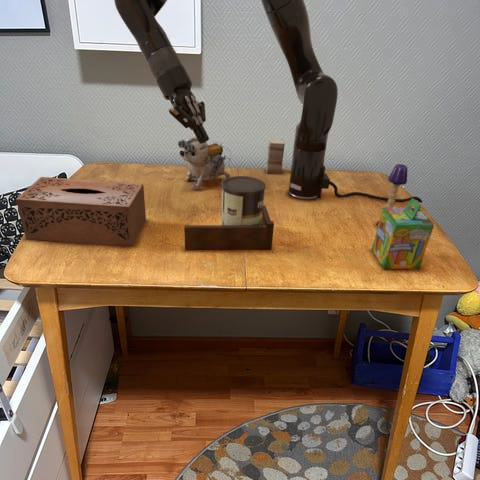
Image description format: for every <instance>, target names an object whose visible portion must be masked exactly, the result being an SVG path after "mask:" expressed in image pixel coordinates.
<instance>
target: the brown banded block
mask: <svg viewBox="0 0 480 480" xmlns="http://www.w3.org/2000/svg"><path fill="white" fill-rule="evenodd" d="M285 143H286V142H285V140H284V139H279V138H269V139H268V145H267V154H266V156H267V158H266V163H265V164H266V166H265V172H266V174H276V175H281V174H282V170H283V169H282V168H283V162H284V161H283V159H284V155H285V154H284V153H285V145H286V144H285Z"/></svg>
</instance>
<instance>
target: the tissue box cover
mask: <svg viewBox="0 0 480 480" xmlns="http://www.w3.org/2000/svg"><path fill="white" fill-rule="evenodd" d="M144 189H145V188H144V183H141V182H140V183H139V182H138V183H137V182H124V181H111V180H110V181H109V180H95V179H94V180H93V179H79V178H78V179H77V178H64V177H63V178H62V177H50V176H40V177H39V178H38V179H37V180H36V181H35V182H33V183H32V184H31V185H29V187H28V188H27V189H26V190H24V191H23V192H22V193H21V194H20V195H19V196H18V197H17V198H15V201H16V205H17V206H16V207H17V209H18V214H19V217H20V221H21V225H22V229H23V233H24V237H25V240H32V241H44V242H46V241H47V242H60V243H75V244H90V245H103V246H104V245H105V246H118V247H119V246H120V247H134V246H135V244H136V242H137V240H138V238H139V236H140V234H141V232H142V230H143V228H144V226H145V224H146V222H147V214H146V201H145V199H146V198H145V190H144Z"/></svg>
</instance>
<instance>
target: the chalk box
mask: <svg viewBox="0 0 480 480" xmlns="http://www.w3.org/2000/svg"><path fill="white" fill-rule="evenodd" d="M412 206H413V207H412ZM379 220H380V221H379ZM379 220H378V221H379V224H378V227H377V228H376V232H375V236H374V239H373V243H372V247H371V252H372V253H373V255H374V256H375V258H376V260H377V261H378V263H379V264H380V266H381V267H382V269H383V270H396V269H397V270H420V268H421V265H422V262H423V259H424V256H425V253H426V250H427V247H428V245H429V241H430V239H431V236H432V233H433V230H434V226H435V225H434V223H433V222H432V220H431V219H430V218H429V217H428V216H427V214H425V212H424V211H423V210H421V204H420V203H419V202H418V201H417V200H414V199H413V198H412V199H411V200H410V201H408V204H407V205H406V207H393V208H386V206H384V207H382V210H381V213H380V217H379Z"/></svg>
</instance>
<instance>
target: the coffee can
mask: <svg viewBox="0 0 480 480" xmlns="http://www.w3.org/2000/svg"><path fill="white" fill-rule="evenodd" d="M266 187H267V186H266V183H265V182H264V181H263V180H262V179H259V178H256V177H252V176H247V175H246V176H245V175H237V176H236V175H235V176H230V177H229V178H226V177H225V178H224V179H223V180H222V181H221V212H220V213H221V215H220V217H221V218H220V219H221V220H220V221H221V222H220V225H262V216H263V206H264V202H265V192H266V191H265V190H266Z"/></svg>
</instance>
